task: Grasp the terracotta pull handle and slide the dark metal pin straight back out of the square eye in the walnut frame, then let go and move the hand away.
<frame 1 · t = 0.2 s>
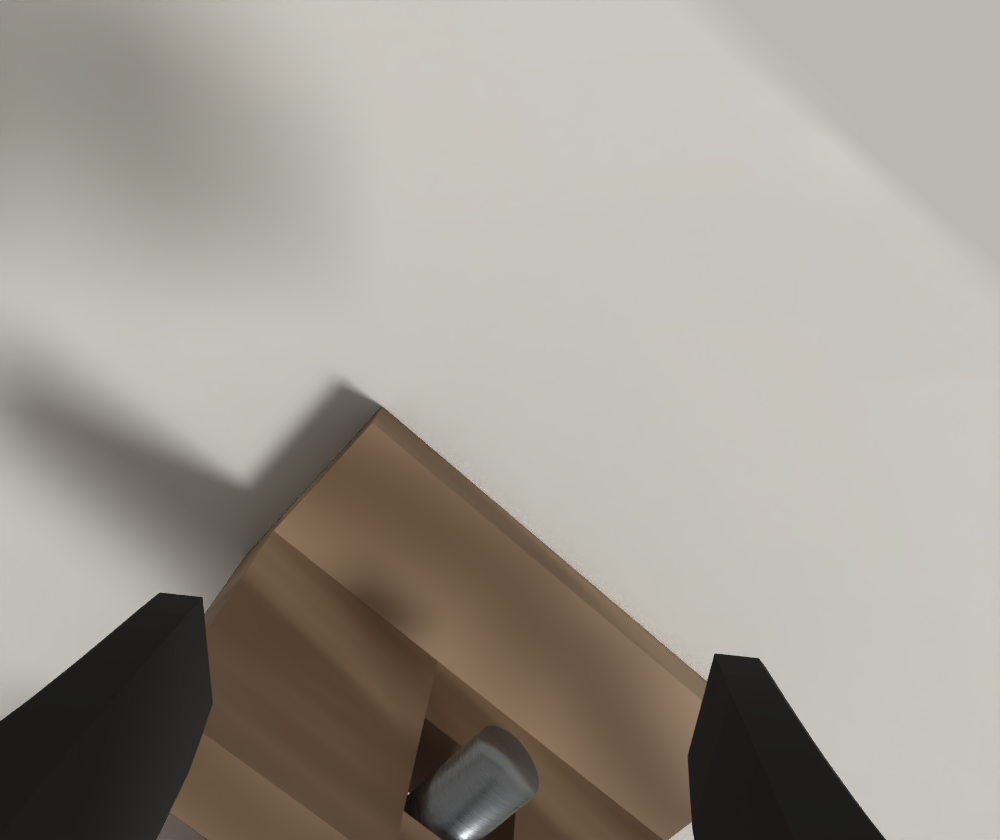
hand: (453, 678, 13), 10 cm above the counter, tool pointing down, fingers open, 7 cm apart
eye frame: (460, 688, 25), on the counter
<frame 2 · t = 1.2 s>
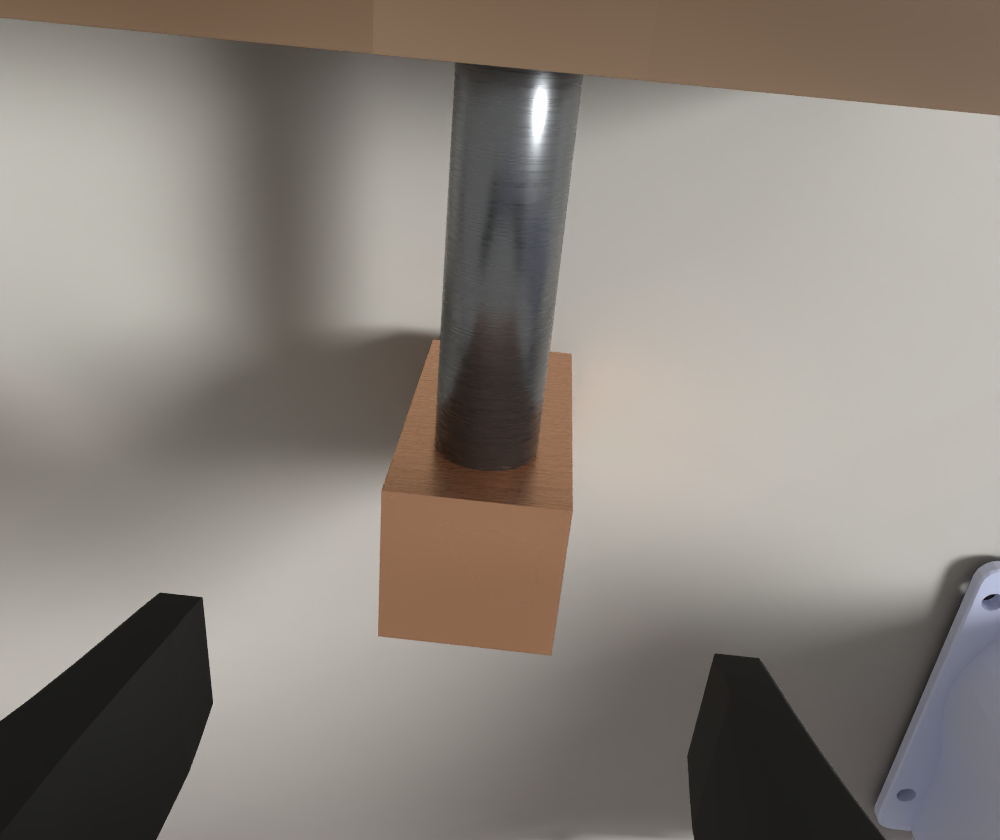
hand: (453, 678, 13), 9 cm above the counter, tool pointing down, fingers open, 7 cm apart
hook pin: (508, 227, 15), point 4 cm above the counter, slide at 0.0 cm
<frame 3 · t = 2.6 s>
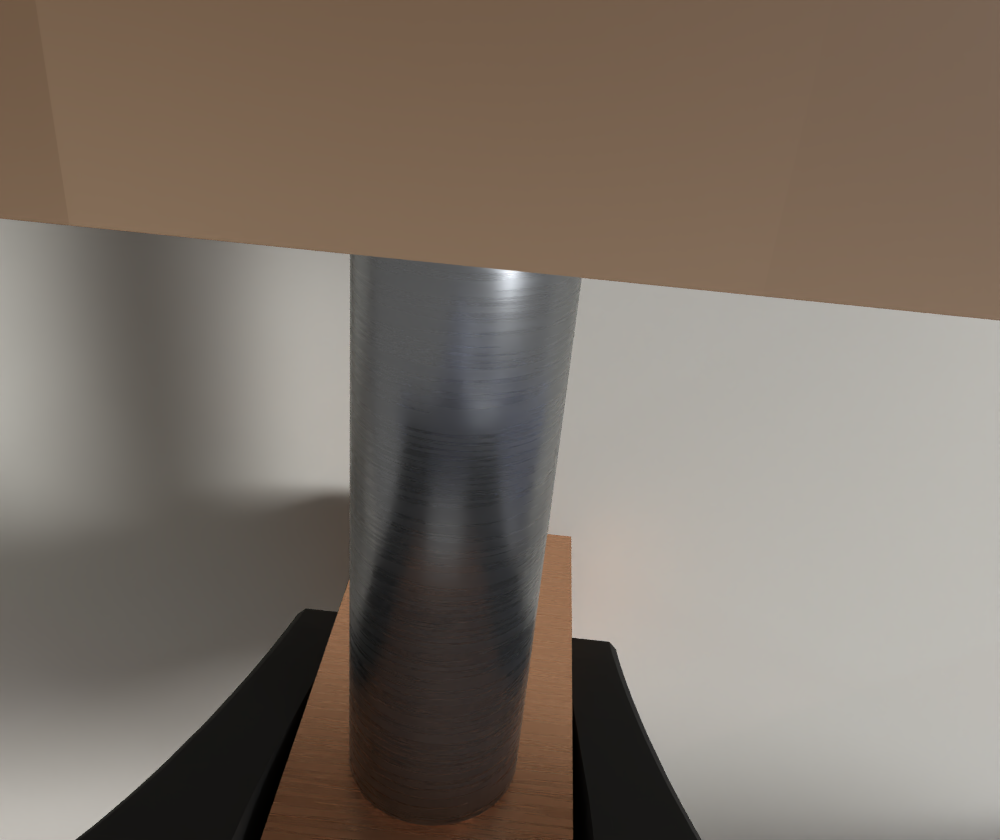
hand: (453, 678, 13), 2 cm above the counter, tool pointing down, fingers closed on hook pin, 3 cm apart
hook pin: (465, 414, 9), point 4 cm above the counter, slide at 0.0 cm, touching gripper
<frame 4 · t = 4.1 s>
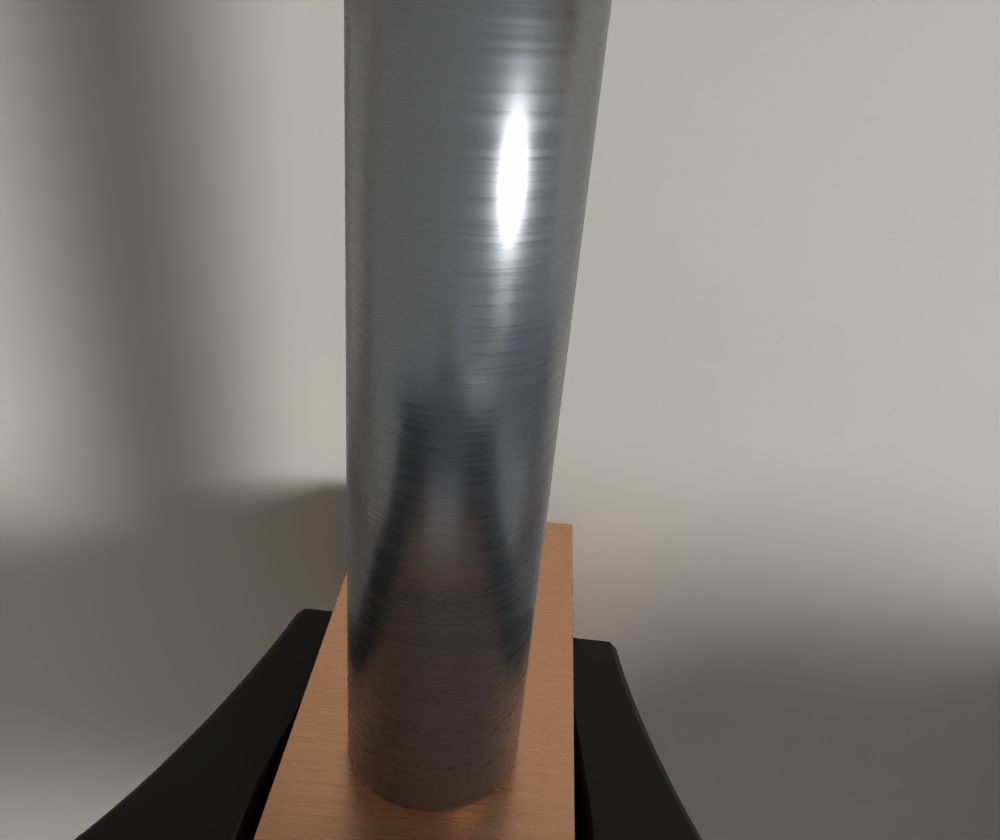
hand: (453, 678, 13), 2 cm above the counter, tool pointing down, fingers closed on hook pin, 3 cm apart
hook pin: (464, 396, 9), point 4 cm above the counter, slide at 5.2 cm, touching gripper
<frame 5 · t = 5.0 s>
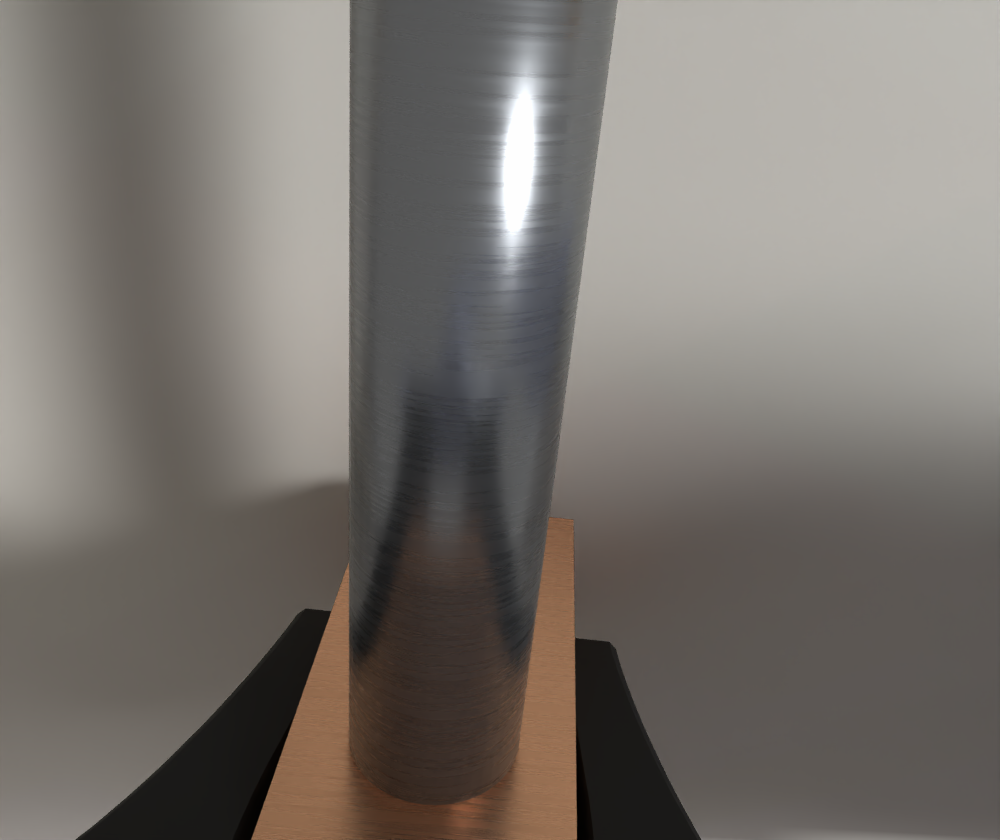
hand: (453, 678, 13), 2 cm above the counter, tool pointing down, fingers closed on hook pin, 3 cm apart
hook pin: (467, 387, 9), point 4 cm above the counter, slide at 8.7 cm, touching gripper
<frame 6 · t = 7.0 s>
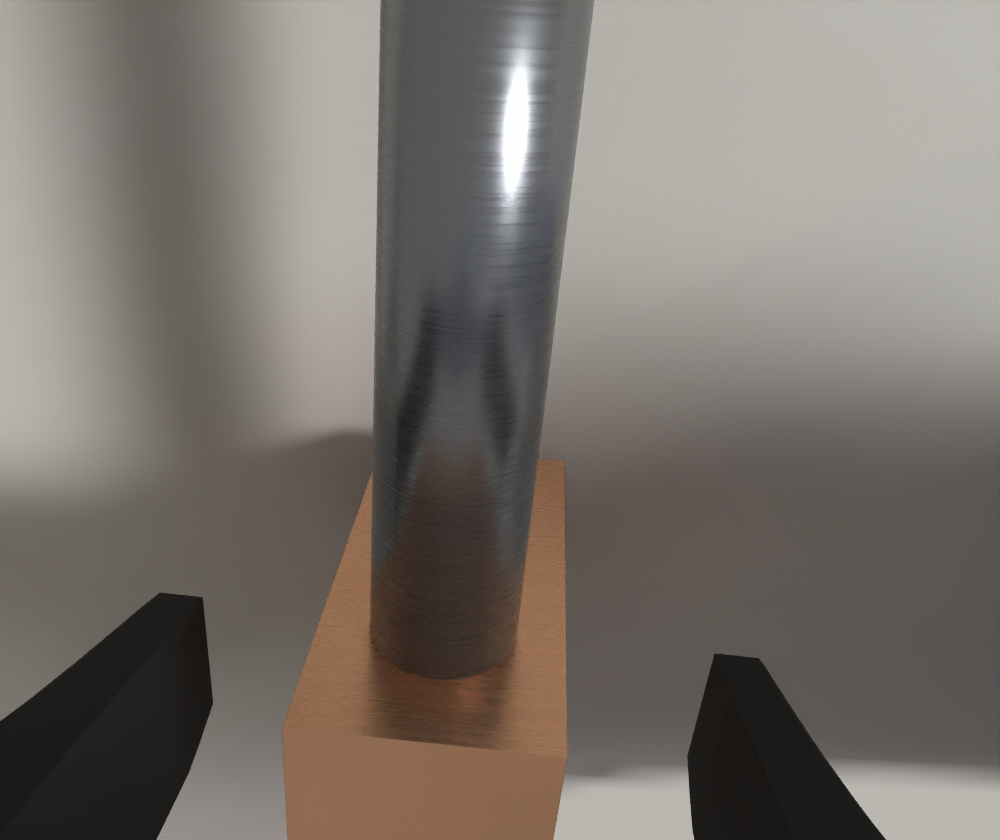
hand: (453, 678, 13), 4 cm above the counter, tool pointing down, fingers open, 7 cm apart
hook pin: (471, 323, 10), point 4 cm above the counter, slide at 8.7 cm
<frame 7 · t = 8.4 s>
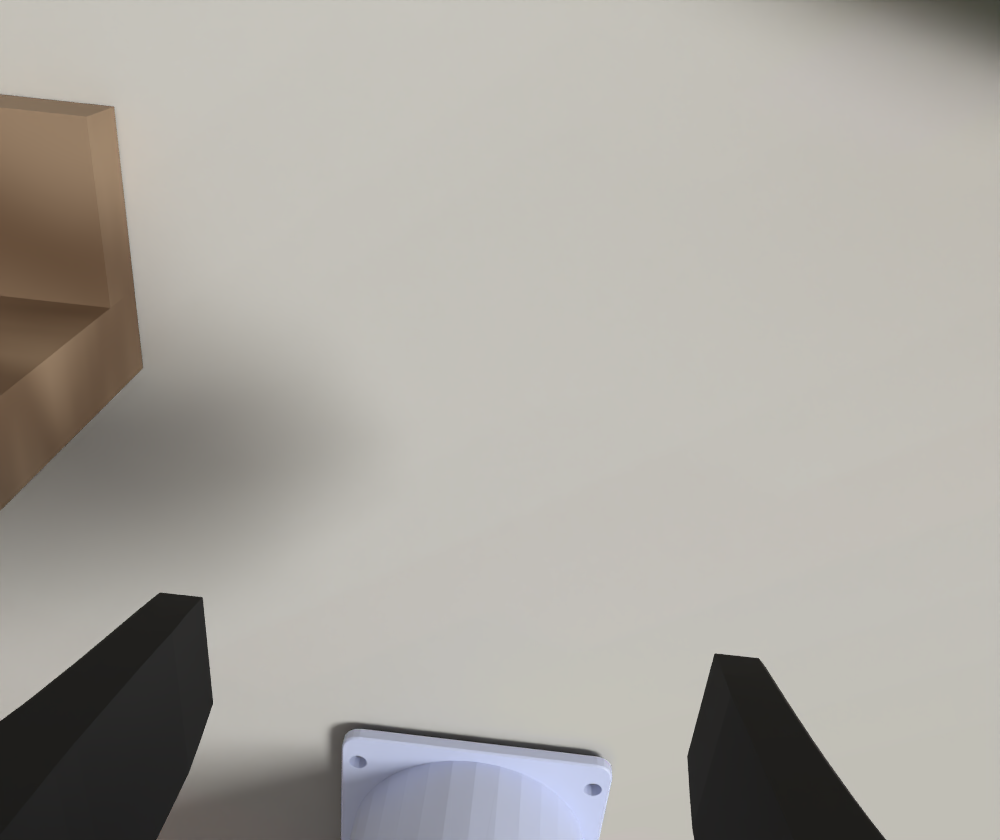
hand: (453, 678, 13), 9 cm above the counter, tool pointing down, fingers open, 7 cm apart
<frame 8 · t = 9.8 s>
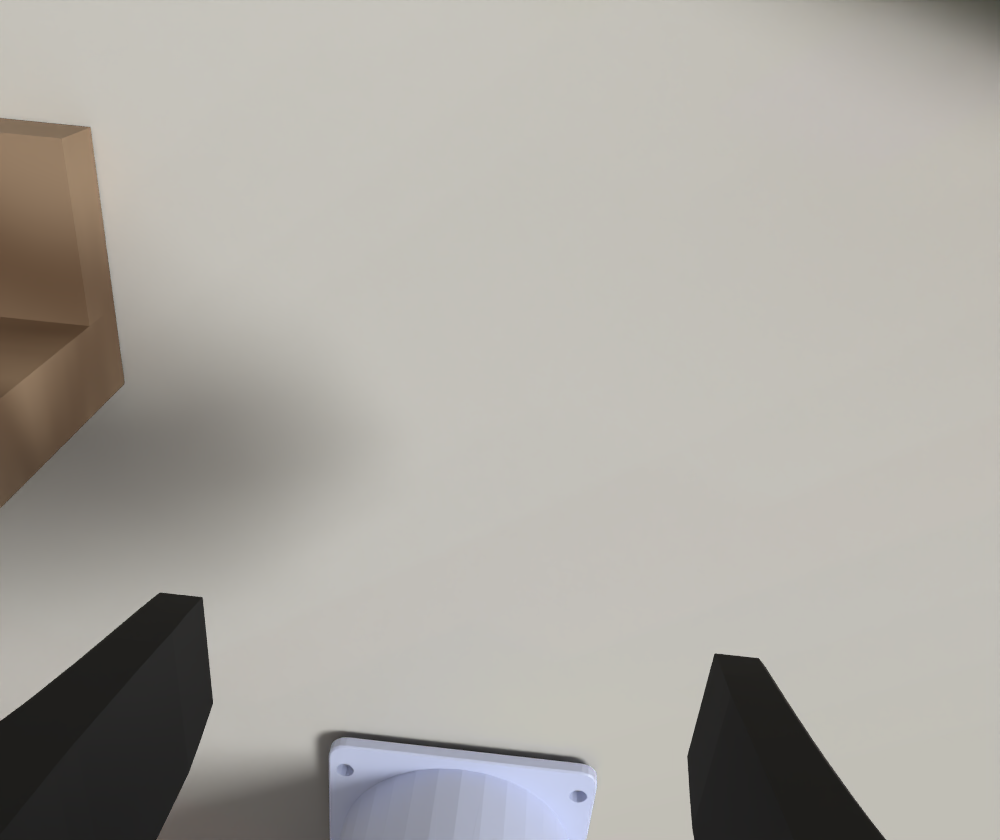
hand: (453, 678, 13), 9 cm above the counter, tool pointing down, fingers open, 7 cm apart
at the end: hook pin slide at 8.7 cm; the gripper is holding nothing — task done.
